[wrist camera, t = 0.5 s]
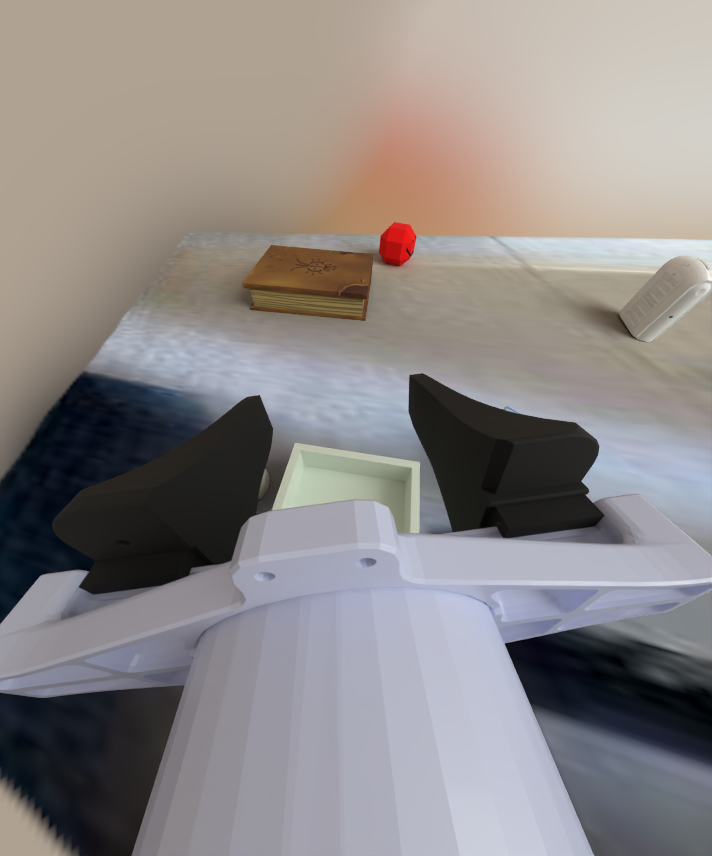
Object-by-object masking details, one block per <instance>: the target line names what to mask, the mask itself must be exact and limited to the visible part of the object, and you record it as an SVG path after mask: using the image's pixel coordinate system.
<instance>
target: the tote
mask: <svg viewBox="0 0 712 856" xmlns="http://www.w3.org/2000/svg"><path fill="white" fill-rule="evenodd" d="M419 494H420V462H416V461H409V460H403V459H396V458H390V457H383V456H377V455H370V454H364V453H358V452H351V451H345V450H338V449H332V448H325V447H319V446H312V445H306V444H299V443H295V445H294V448H293V451H292V453H291V456H290V459H289V462H288V465H287V468H286V471H285V473H284V476H283V479H282V482H281V485H280V488H279V491H278V493H277V496H276V499H275V502H274V505H273V508H272V510H279V509H286V508H294V507H301V506H309V505H316V504H323V503H331V502H338V501H345V500H353V499H360V500H373V501H375V502H378V503H380V504H382V505H385V506H387V507H389V509H390V511H391V513H392V515H393V517H394V521H395V525H396V530H397V532H403V533H419Z"/></svg>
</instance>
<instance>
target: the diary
mask: <svg viewBox="0 0 712 856" xmlns="http://www.w3.org/2000/svg"><path fill="white" fill-rule="evenodd" d="M372 264H373V254H364V253H353V252H342V251H331V250H320V249H309V248H297V247H286V246H275V245H271V246H270V247H269V249H268V250H267V251H266V253H265V254H264V255H263V257H262V258H261V259H260V260H259V262H258V263H257V264H256V266H255V267H254V268H253V270H252V271H251V272H250V274H249V275H248V276H247V278H246V279H245V280H244V282H243V286H244V288H249V289H250V293H251V296H252V300H253V304H252V305H251V307H250V309H251V310H258V311H268V312H279V313H289V314H300V315H310V316H321V317H331V318H342V319H352V320H363V321H365V319H366V312H367V304H368V297H369V290H370V283H371V275H372Z"/></svg>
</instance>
